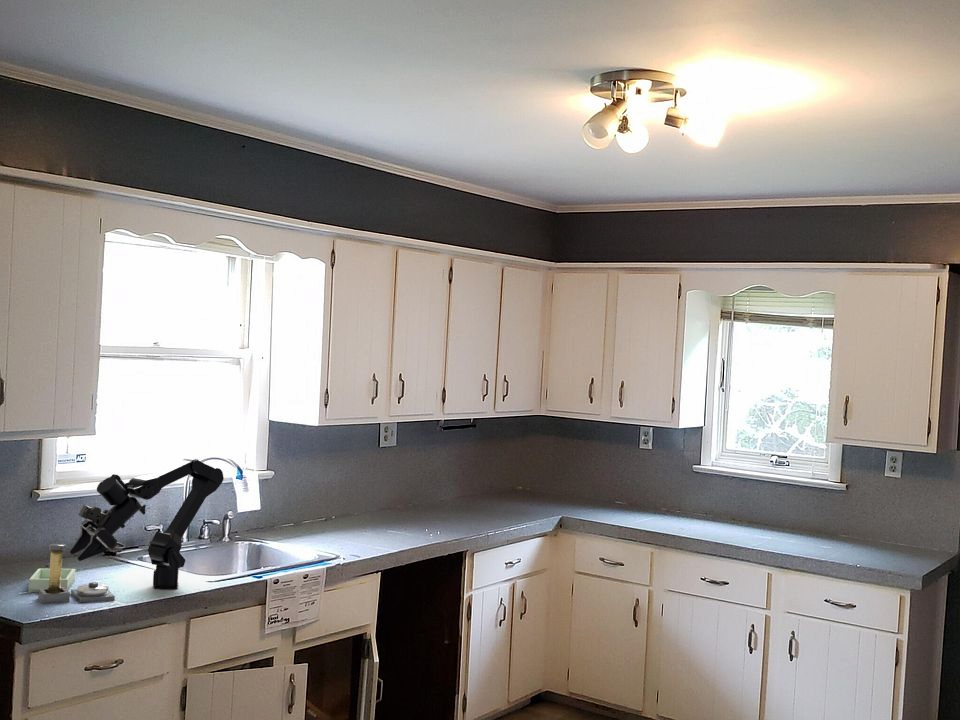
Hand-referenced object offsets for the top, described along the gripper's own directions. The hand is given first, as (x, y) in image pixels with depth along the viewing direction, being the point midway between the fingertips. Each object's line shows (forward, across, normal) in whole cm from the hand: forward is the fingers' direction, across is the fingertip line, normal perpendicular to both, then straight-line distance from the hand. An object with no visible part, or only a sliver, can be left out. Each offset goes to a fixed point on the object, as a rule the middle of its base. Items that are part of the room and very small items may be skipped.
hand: (74, 556), depth 269 cm
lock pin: (+11, 0, +5) cm, 12 cm away
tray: (+9, -16, +7) cm, 20 cm away
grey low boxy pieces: (+7, 0, +9) cm, 12 cm away
